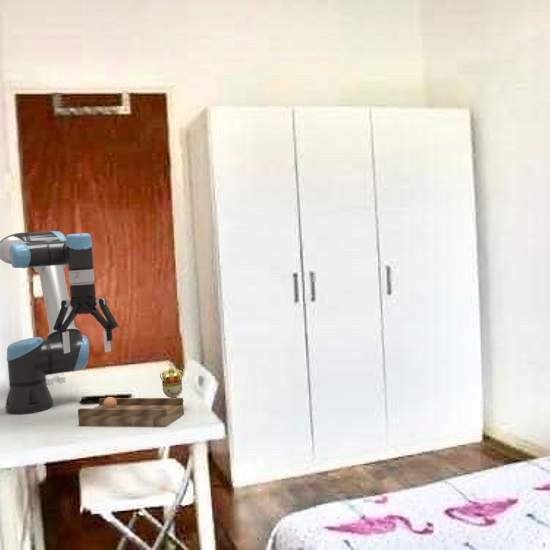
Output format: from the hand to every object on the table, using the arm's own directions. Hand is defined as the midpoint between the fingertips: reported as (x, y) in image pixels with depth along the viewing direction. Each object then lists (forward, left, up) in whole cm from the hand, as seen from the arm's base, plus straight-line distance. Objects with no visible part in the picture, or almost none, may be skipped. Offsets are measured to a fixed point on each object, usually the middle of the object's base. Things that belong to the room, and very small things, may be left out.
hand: (87, 352), depth 213 cm
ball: (+7, -1, -16) cm, 17 cm away
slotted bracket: (-47, +55, -21) cm, 75 cm away
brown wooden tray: (+14, -1, -21) cm, 25 cm away
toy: (+23, +10, -21) cm, 33 cm away
